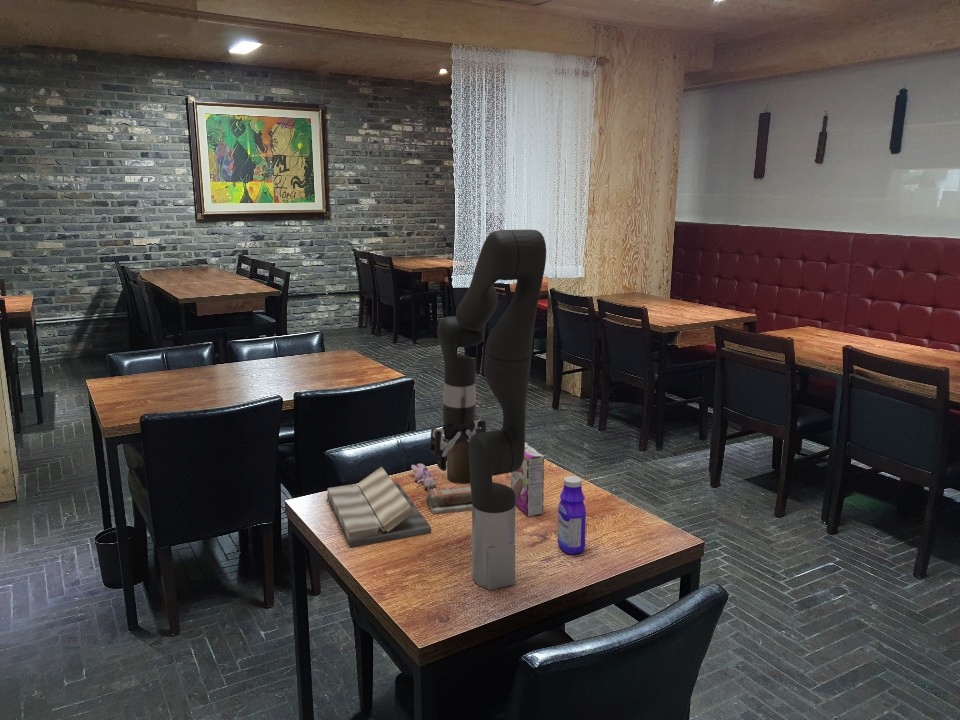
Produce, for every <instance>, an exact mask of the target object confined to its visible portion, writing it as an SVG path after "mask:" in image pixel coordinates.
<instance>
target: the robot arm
mask: <svg viewBox="0 0 960 720" xmlns="http://www.w3.org/2000/svg"><path fill="white" fill-rule="evenodd" d="M546 264H547V244H546V240H545V237H544V235H543V234H542V232H540V231H539V230H536V229H500V230H494V231H492V232H490V233H489V234H488V236H487V237H486V238H485V240H484V242H483V244H482V247H481V250H480V253H479V256H478V258H477V262H476V264H475V268H474V270H473V275H472V279H471V282H470V285H469V287H468V289H467V291H466V292H465V295H464V296H463V297H462V299H461V301H460V303H459V304H458V306H457V308H456V311H455V315H453V316H451V315H450V316H446V317H445V316H444V317H443V318H441V319H440V321H439V323H438V325H437V327H436V332H437V333H436V335H437V338H438V343H439V346H440V348H441V353H442V358H443V364H444V385H443V389H442V390H443V391H442V421H443V426H442V428H436V427H432V428H431V431H430V440H429V452H430V453H431V454H433V455H435V456H436V457H437V459H436V463H437V464H436V465H437V468H439V470H440V471H442V472H445V471H447V453H448V451H449V449H452V447H453V445H454V444H458V443H460V442H466V440H467V441H468V442H469V466H470V483H469V485H470V487H471V494H472V511H471V536H472V537H471V544H472V545H471V552H472V553H471V559H472V560H471V561H472V565H471V566H472V567H471V568H472V569H471V572H472V577H471V579H472V580H473V582H474V583H475V584H477V585H478V586H481V587H484V588H486V589H487V590H488V591H491V590H496V589H500V588H505V587H509V586H514V585H515V584H516V496H515V492H514V490H513V489H512V488H511V486H508V485H506V484H503V483H498V482H494V481H493V477H494V476H500V475H505V474H511V472H515V471H517V470H519V469H520V468H521V466H522V463H523V460H524V453H525V442H526V411H527V410H526V407H527V398H528V389H529V388H528V387H529V379H530V374H531V365H532V356H533V343H534V332H535V323H536V318H537V317H536V316H537V309H538V304H539V299H540V295H541V290H542V285H543V280H544V279H543V278H544V275H545V270H546ZM497 281H516V284H515V287H514V288H515V289H514V293H513V295H512V299H511V301H510V303H509V305H508V307H507V308H506V309H505V311H504V313H503V314H502V315H501V317H500V318H499V319H498V321H497V322H496V324H495V326H494V327H493V328H492V329H491V331H490V333H489V335H488V337H487V340H486V342H485V348H484V359H483V375H484V378H485V381H486V383H487V385H488V387H489V389H490V391H491V392H492V393H493V395H494V397H495V399H496V400H497V401H498V404H499V406H500V407H501V410H502V416H503V417H502V418H503V419H502V420H503V421H502V427H501V429H495V430H490V431H486V428H487V427H486V421H485V420H483V419H481V418H480V417H477V418H476V404H477V403H476V399H477V398H476V397H477V390H476V389H477V388H476V366H477V365H476V360H475V359H474V358H473V357H472V356H470V355H469V356H468V355H464V354H460V353H459V354H458V353H457V348H466V347H467V348H469V347H475V346H478V345H479V344H481V343H482V342H483V341H484V339H485V335H486V328H487V323H488V321H489V320H490V319H491V318H492V316H493V315H494V313H495V311H496V309H497V306H498V302H499V301H498V300H499V297H498V292H497V290H496V287H495V286H494V284H495V283H496V282H497ZM473 430H476V434H474V435H473V434H472V432H473ZM447 440H448V441H449V443H447Z"/></svg>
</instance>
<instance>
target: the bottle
mask: <svg viewBox="0 0 960 720" xmlns="http://www.w3.org/2000/svg"><path fill="white" fill-rule="evenodd" d="M582 483H583V479H582V478H581V477H579V476H575V475H569V476H566V477H564V479H563V489H562V490H561V491H562V492H561V493H560V495H559V497H560V500H559V503H558V507H557V509H558V510H557V515H558V517H557V544H558V546H559V548H560V549H561V550H562V551H564V552H565V553H566V554H568V555H574V554H579V553H582V552H583V551H584V550H585V548H586V527H587V526H586V524H587V523H586V522H587V520H586V519H587V509H586V506H585V503H584V501H585V497H586V496H585V494H584V492H583V490H582V486H583V485H582Z"/></svg>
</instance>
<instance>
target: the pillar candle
mask: <svg viewBox="0 0 960 720" xmlns="http://www.w3.org/2000/svg"><path fill="white" fill-rule="evenodd" d="M472 434H473V435H474V434H476V429H474V430H473V432H472ZM447 443H449V441H448V440H447ZM446 456H447V467H446V478H447V479H448V480H449V481H450V482H452V483H456V484H468V483H469V484H470V466H469V442H468V441H467V440H466V442H460V443H458V444H454V445H453V447H452V449H449V451H448V453H447V454H446Z"/></svg>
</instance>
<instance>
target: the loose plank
mask: <svg viewBox="0 0 960 720" xmlns="http://www.w3.org/2000/svg"><path fill="white" fill-rule="evenodd" d="M394 483H395V482H393V480H392V478H391V477H390V476H389V474H388V473H387V472H386V470H385V469H384V467H382V466H380V467H379V468H377V469H376V470H375V471H373V472H372V473H370V474H369V475H368V476H366V477H365V478H363V479H362V480H360V481H359V482H358V483H357V485H358V487H359V489H360V490H361V492H362V494H363V495H364V497H365V499H366V500H367V502H368V504H369V505H370V507H371V509H372V510H373V512H374V514H375V516H376V517H377V519H378V521H379V522H380V524H381V526H382V529H381V530H382V531H383V532H385V531H387V532H388V531H390V530H391V529H393V528H394V527H395V526H397V525H398V524H399V523H401V522H402V521H403V520H405V519H406V518H407V517H409V516H410V515H411V514H413V513H414V510H413V509H412V508H411V506H410V505H409V503H408V502H407V501H406V499H405V498H404V496H403V495H402V494H401V492H400V491H399V490H398V488H397V487H396V485H395V484H394Z"/></svg>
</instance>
